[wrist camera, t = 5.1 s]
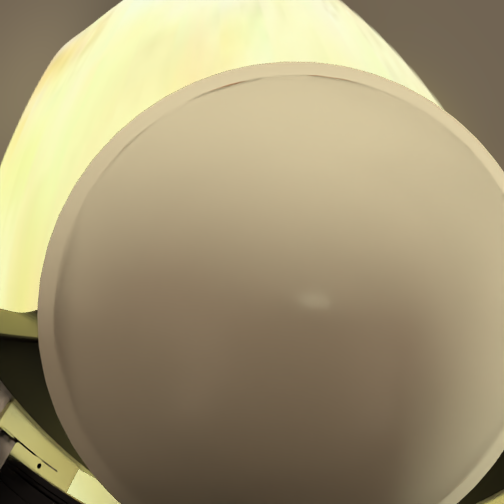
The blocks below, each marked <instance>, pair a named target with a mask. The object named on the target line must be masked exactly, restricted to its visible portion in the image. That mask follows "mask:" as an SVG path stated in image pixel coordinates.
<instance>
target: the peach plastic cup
mask: <svg viewBox="0 0 504 504" xmlns="http://www.w3.org/2000/svg"><path fill="white" fill-rule="evenodd" d="M37 318H38V339H39V350H40V356H41V361H42V367H43V372H44V376H45V381H46V385H47V388H48V391H49V394H50V397H51V400H52V403H53V405H54V408H55V411H56V414H57V416H58V418H59V420H60V422H61V424H62V426H63V428H64V430H65V432H66V434H67V436H68V438H69V440H70V442H71V444H72V445H73V447H74V449H75V450H76V452H77V453H78V455H79V456H80V457H81V459H82V460H83V462H84V463H85V465H86V466H87V467H88V469H89V470H90V471H91V473H92V474H93V475H94V477H95V478H96V479H97V480H98V481H99V482H100V483H101V484H102V485H103V486H104V487H105V489H106V490H107V491H108V492H109V493H110V494H111V495H112V496H113V497H114V498H115V499H116V500H117V501H118V502H119V503H121V504H457V503H458V502H459V501H460V500H461V499H462V498H464V497H465V496H466V495H467V494H468V493H469V492H470V491H471V490H472V489H473V488H474V487H475V486H476V485H477V484H478V483H479V481H480V480H481V479H482V478H483V477H484V476H485V474H486V473H487V472H488V471H489V470H490V468H491V467H492V466H493V465H494V463H495V462H496V461H497V459H498V458H499V456H500V455H501V453H502V452H503V450H504V172H503V171H502V169H501V168H500V166H499V165H498V164H497V162H496V161H495V159H494V158H493V157H492V156H491V155H490V153H489V152H488V151H487V150H486V149H485V147H484V146H483V145H482V144H481V143H480V142H479V141H478V139H477V138H476V137H475V136H473V135H472V134H471V133H470V132H469V131H468V130H467V129H466V128H465V127H464V126H463V125H461V123H459V122H458V121H457V120H456V119H455V118H453V117H452V116H451V115H450V114H448V113H447V112H446V111H444V110H443V109H442V108H440V107H439V106H437V105H436V104H434V103H433V102H432V101H430V100H428V99H427V98H425V97H423V96H421V95H420V94H418V93H416V92H414V91H412V90H410V89H409V88H407V87H405V86H403V85H400V84H398V83H396V82H393V81H391V80H388V79H386V78H383V77H380V76H378V75H375V74H372V73H368V72H365V71H361V70H357V69H353V68H349V67H345V66H339V65H332V64H324V63H316V62H276V63H266V64H257V65H251V66H246V67H242V68H237V69H233V70H229V71H225V72H221V73H218V74H216V75H213V76H210V77H207V78H204V79H202V80H199V81H196V82H194V83H192V84H190V85H187V86H185V87H183V88H181V89H179V90H177V91H175V92H173V93H171V94H170V95H168V96H166V97H164V98H163V99H161V100H160V101H158V102H156V103H155V104H153V105H152V106H150V107H149V108H147V109H146V110H144V111H143V112H142V113H140V114H139V115H138V116H136V117H135V118H134V119H133V120H132V121H130V122H129V123H128V124H127V125H126V126H125V127H123V128H122V129H121V130H120V131H119V132H118V133H117V134H116V135H115V136H114V137H113V138H112V139H111V140H110V141H109V142H108V143H107V144H106V145H105V146H104V147H103V149H102V150H101V151H100V152H99V153H98V154H97V155H96V156H95V158H94V159H93V160H92V161H91V163H90V164H89V166H88V167H87V168H86V170H85V171H84V173H83V174H82V176H81V177H80V178H79V180H78V181H77V183H76V184H75V186H74V188H73V189H72V191H71V193H70V195H69V197H68V199H67V201H66V203H65V205H64V207H63V208H62V210H61V212H60V214H59V217H58V219H57V222H56V225H55V227H54V230H53V233H52V236H51V238H50V241H49V244H48V247H47V251H46V255H45V260H44V264H43V269H42V274H41V278H40V287H39V298H38V312H37Z"/></svg>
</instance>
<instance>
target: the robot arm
mask: <svg viewBox="0 0 504 504" xmlns="http://www.w3.org/2000/svg"><path fill="white" fill-rule="evenodd" d="M37 312H38V310H35V311H32V312H26V313H18V312H12V311H8V310H4V309H0V504H85V503H83V502H81V501H80V500H78V499H76V498H75V497H73V496H71V495H70V494H68V493H67V491H68V489H69V487H70V485H71V483H72V481H73V479H74V477H75V475H76V473H77V471H78V469H80V470H82V471H83V472H85V473H87V474H89V475H91V476H92V477H94V475H93V474H92V473H91V471H90V470H89V469H88V467H87V466H86V465H85V463H84V462H83V460H82V459H81V457H80V456H79V455H78V453H77V452H76V450H75V449H74V447H73V445H72V444H71V442H70V440H69V438H68V436H67V434H66V432H65V430H64V428H63V426H62V424H61V422H60V420H59V418H58V416H57V414H56V411H55V408H54V405H53V403H52V400H51V397H50V394H49V391H48V388H47V385H46V381H45V376H44V372H43V367H42V361H41V356H40V350H39V339H38V318H37ZM94 478H95V477H94ZM457 504H504V450H503V452H502V453H501V455H500V456H499V458H498V459H497V461H496V462H495V463H494V465H493V466H492V467H491V468H490V470H489V471H488V472H487V473H486V474H485V476H484V477H483V478H482V479H481V480H480V481H479V483H478V484H477V485H476V486H475V487H474V488H473V489H472V490H471V491H470V492H469V493H468V494H467V495H466V496H465V497H464V498H462V499H461V500H460V501H459V502H458V503H457Z"/></svg>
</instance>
